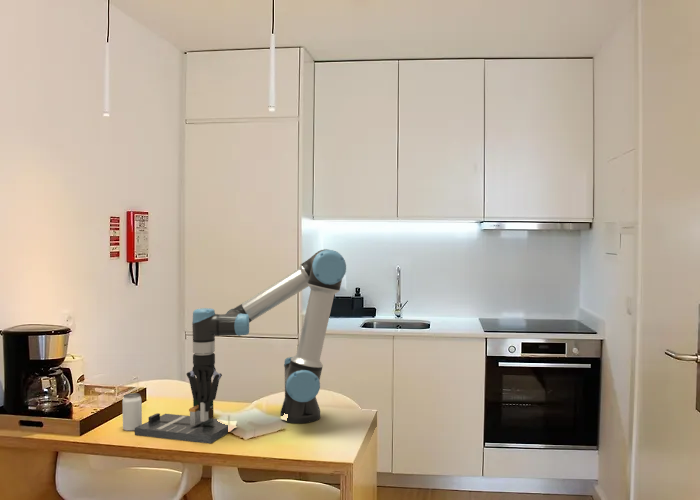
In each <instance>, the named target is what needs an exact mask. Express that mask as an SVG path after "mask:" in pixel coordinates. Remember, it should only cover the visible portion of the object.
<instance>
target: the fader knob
mask: <svg viewBox="0 0 700 500" xmlns="http://www.w3.org/2000/svg"><path fill="white" fill-rule="evenodd" d="M188 412H189V416H190V426H196V425H198V424H200V423H202V421H201V417H200V411H199V407H198V405H196V406H194V407H193V406H192V407H190V408H189V409H188Z"/></svg>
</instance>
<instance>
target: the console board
mask: <svg viewBox="0 0 700 500" xmlns="http://www.w3.org/2000/svg"><path fill="white" fill-rule="evenodd" d="M147 418H148V421H146V422H145V423H142V425H140V426H138V427H136V428H135V431H134V435H135V436H140V437H141V436H142V437H147V438H157V439H167V440H175V441H183V442H193V443H194V442H195V443H202V444H209V445H210V444H213V443H215V442H216V441H218V440H220V439H221V438H222V437H224V436H225V435H228V434H229V433H228V425H225V424H222V423H220V422H218V421H217V419H218V418H215V417H213V418H208V420H207V421H205V422H202V423H200V424H198V425H196V426H190V415H183V414H172V413H164V414H162V415H161V413H158V412H157V413H154V414H153V415H150V416H148V417H147Z"/></svg>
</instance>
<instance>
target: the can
mask: <svg viewBox="0 0 700 500" xmlns="http://www.w3.org/2000/svg"><path fill="white" fill-rule="evenodd" d="M142 400H143V399H142V397H141V394H140V393H137V392H136V393H133V392H132V393H126V394H125V395H123V398H122V428H123V430H124V431H126V432H135V428H136V427H138V426H140V425H142V424H143V413H142V412H143V407H142Z"/></svg>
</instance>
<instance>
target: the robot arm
mask: <svg viewBox="0 0 700 500" xmlns="http://www.w3.org/2000/svg"><path fill="white" fill-rule="evenodd" d="M346 272H347V264H346V260H345V259H344V257H343V255H342V254H341V253H340V252H338V251H336V250H334V249H327V248H324V249H320V250H319V251H317V252H315V253H314V254H313V255H312V256H311V257H309V258H308V259H307V260H305V261H304V262H301V263H300V265H299V268H297V269H296V270H294V271H293V272H291V273H290V274H287V275H286V276H285V277H283V278H281V279H279V280H277V281H276V282H274V284H271V285H270V286H268V287H267V288H265V289H263V290H262V291H260V292H258V293H257V294H255V295H254V296H251V297H250V298H249V299H247V300H245V301H244V302H242V303H240V304H239V305H237V306H236V307H234V308H231V309H229V310H228V311H227V312H226V313H223V314H222V313H221V314H218V313H216V312H215V309H214V308H207V307H202V308H201V307H200V308H196V309H194V310H193V312H192V323H191V325H192V327H191V328H192V353H194V354H192V365H193V366H192V369H191V370H190V371H188V372H187V373H186V377H187V379H188V381H189V387H190V391H191V394H192V400H193V399H194V400H197V401H198V407H199V411H200V417H201V421H202V422H205V421H207V420H208V411H210V402H211V401H213V402H214V400H216V397H217V392H218V388H219V383H220V380H221V378H222V376H223V375H222V373H219V372H217V371H216V370H217V369H216V367H215V364H216V354H215V352H216V345H215V344H216V342H215V341H216V338H215V337H219V336H220V337H222V336H227V337H228V336H230V337H231V336H232V337H233V336H237V337H238V336H239V337H241V336H247V335H249V333H250V323H251V322H253V321H254V320H256V319H257V318H260V317H261V316H262V315H264V314H266V313H267V312H269V311H271V310H272V309H274V308H275V307H277V306H279V305H280V304H282V303H283V302H285V301H287V300H289V299H290V298H292V297H293V296H295V295H297V294H298V293H300V292H302V291H303V290H305V289H307V288H308V287H309V289H310V292H309V295H308V299H307V305H306V309H305V314H304V317H303V318H304V319H303V322H302V323H303V324H302V327H301V332H300V336H299V340H298V345H297V350H296V354H295V355H294V356H289V357H286V358H285V359H284V364H283V367H284V399H283V402H282V405H281V410H280V414H279V415H280V416H283V415H284V413H285V414H288V418H287V422H286V423H291V424H307V423H312V422H316V421H318V420H319V419H320V418H321V409H320V406H319V402H318V400H317V396H318V394H319V393H320V388H321V383H320V381H321V377H322V370H323V366H324V365H323V363H322V361H321V356H322V352H323V347H324V342H325V337H326V332H327V329H328V326H329V325H328V324H329V322H330V321H329V320H330V315H331V310H332V307H333V302H334V297H335V295H336V294H337V293H339V292H340V290H341V286H342V282H343V281H342V280H343V279H344V277H345V275H346ZM196 378H197V381H196ZM212 378H213V379H212ZM211 381H212V386H211ZM197 383H198V386H197Z"/></svg>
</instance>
